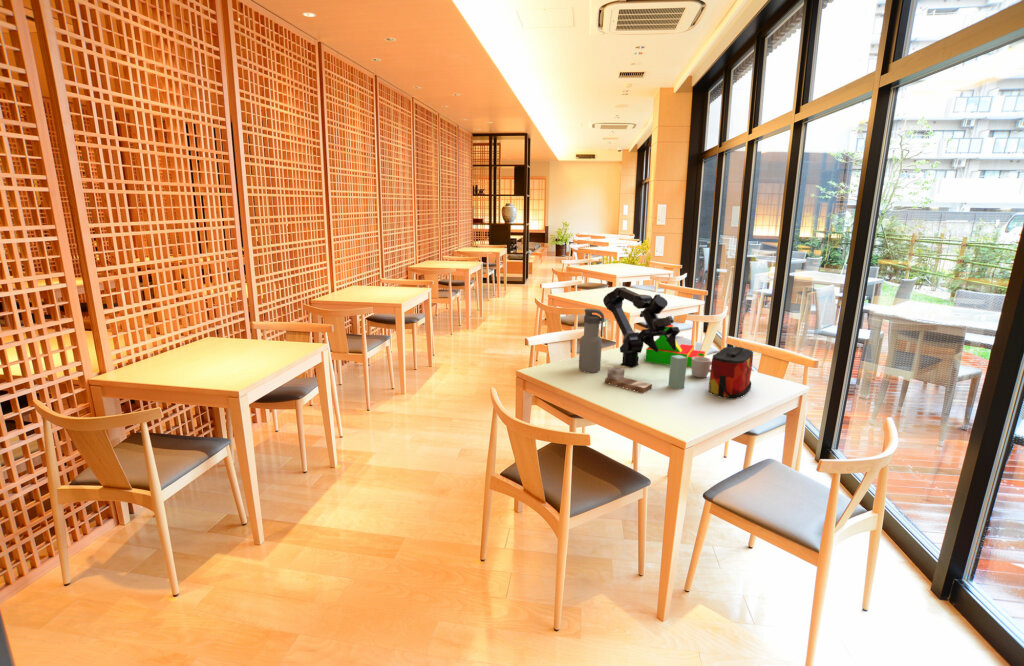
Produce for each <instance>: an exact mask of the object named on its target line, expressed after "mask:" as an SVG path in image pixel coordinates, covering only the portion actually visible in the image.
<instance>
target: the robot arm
mask: <svg viewBox="0 0 1024 666" xmlns="http://www.w3.org/2000/svg"><path fill="white" fill-rule="evenodd" d="M624 300H627V301H629V302H630V303H632V305H633V306H634V307H635V308H637V310H640V314H639V317H640V318H643V319H644V321H645V323H646V325H645V328H646V329H641V330H640V331H639V332H638V331H637V332H635V331H634V330H633V328H632V326H631V324H630V322H629V320H628V317H627V316H626V313H625V312H624V309H623V301H624ZM602 302H603V305H604V306H605V308H606V309H607V310H609V311H610V312H611V313H612V314H613V317H614V319H615V321H616V323H617V324H618V325H617V326H618V328H619V329H620V332H621V333H622V334H621V335H622V336H623V340H622V344H621V346H620V347H619V352H620V353H622V360H621V361H622V362H621V363H620V365H621V366H624V367H628V368H634V367H637V366H639V365H640V364H639V354H640V353H642V350H643V348H644V344H645V345H647V346H648V347H651V348H652V349H653V350H654V351H656V352H658V348H657V346H656V343H655V341H656V340H655V339H654V337H659V336H661V335H665V337H666V338H667V339H666V340H667V342H668V343H669V344H670V346H671V347H672V349H673V350H676V342H677V341H676V337H677V336H678V334H679V333H680V332H681V330H680V328H679V326H673V327H670V328H669V329H668V330H666V331H664V329H666V328H667V327H666V326H668V325H672V324H673V323H674V318H673V316H672V315H669V316H666V317H659V316H658V315H659V314H661V313H662V312H663V311H664V309H665V308H666V307H667V306H668V300H667V299H666V298H665V297H663V296H661V294H655V295H654V297H652V296H651V295H648V294H639V293H636V292H634V291H632V290H630V289H628V288H626V287H616V288H614V289H613V290H612V291H611V292H610V291H609V292H608V293H607V294H605V295H604V297H603V301H602ZM642 309H643V310H642ZM675 341H676V342H675Z"/></svg>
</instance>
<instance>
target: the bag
mask: <svg viewBox="0 0 1024 666" xmlns="http://www.w3.org/2000/svg"><path fill="white" fill-rule="evenodd" d="M753 357H754V351H753V350H752V349H749V348H744V347H742V346H726V347H723V348H722V349H720V350H719V351H718V352H717V353H714V354H712V359H711V361H712V364H711V365H710V370H711V372H709V373H710V374H709V384H708V392H709V393H710V394H711V393H712V394H711V395H713V394H714V396H716V397H719V396H720V397H719V398H724V397H732V398H731V399H738V398H737V397H740V398H742V397H741V396H743V395H744V396H745V395H746V394H747V393H749V391H751V388H752V382H751V375H752V368H753V361H754V360H753V359H754V358H753ZM744 396H743V397H744Z"/></svg>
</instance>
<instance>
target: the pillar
mask: <svg viewBox="0 0 1024 666" xmlns="http://www.w3.org/2000/svg"><path fill="white" fill-rule="evenodd" d="M686 364H687V358H686V357H684V356H681V355H675V356H671V362H670V365H669V374H668V386H667V387H670V388H672V389H673V390H674V389H675V390H678V389H685V382H686V373H687V372H686V371H687V367H686Z"/></svg>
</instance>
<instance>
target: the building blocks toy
mask: <svg viewBox="0 0 1024 666" xmlns="http://www.w3.org/2000/svg"><path fill="white" fill-rule="evenodd" d="M666 327H667V328H666V329H664V331H666V330H668V329H669V328H670V327H674V325H673V324H671V325H668V326H666ZM666 339H667V338H666V337H665V335H661V336H658V338H657V339H656V340H654V341H655V343H656V346H657V348H658V352H656V351H654V350H653V349H652V348H651V347H649V346H648V347H647V348H645V350H646V351H645V361H647V363H652V362H653V364H659V363H661V365H665V366H666V365H668V366H670V362H671V356H675V355H681V356H684V357H686V358H687V364H686V366H687V367H689V366H691V368H692V357H706V351H704V350H695V349H694V347H695V346H694V345H689V344H684V343H681V344H680V345H679V344H678V342H677V341H676V340H675V342H676V350H673V349H672V347H671V346H670V344H669V343H668V342H667V340H666Z"/></svg>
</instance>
